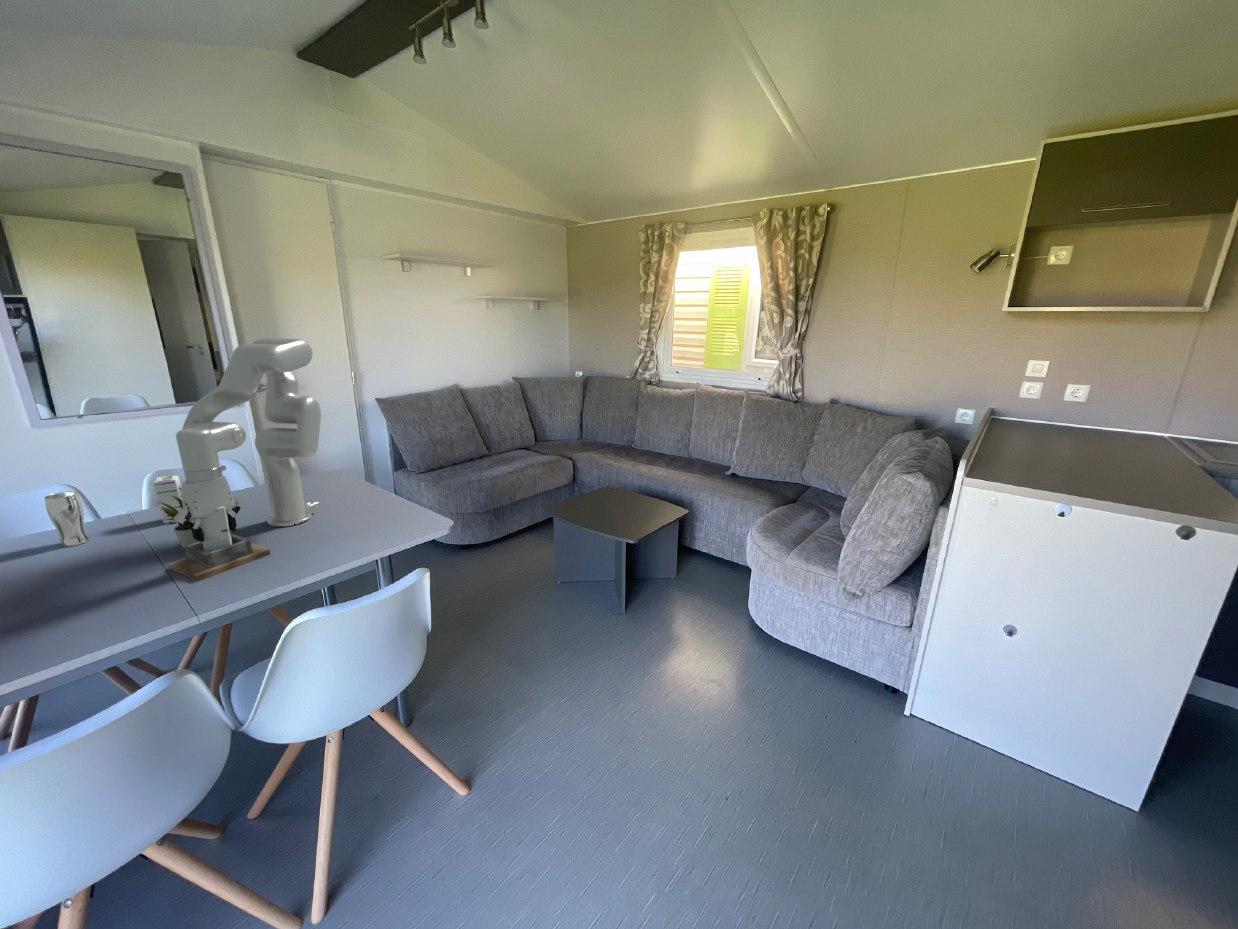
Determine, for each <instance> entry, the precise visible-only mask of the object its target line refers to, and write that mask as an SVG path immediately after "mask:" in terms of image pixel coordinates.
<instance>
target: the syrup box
mask: <svg viewBox="0 0 1238 929" xmlns="http://www.w3.org/2000/svg"><path fill="white" fill-rule="evenodd" d="M152 484H153V488H154V492H155V496H156V500H157V502H161V503H164V504H167V505H170V506H172V507H173V508H175V509H176V510H177V511H178V512H180V511H181V510H182V508H181V506H180V504H179V502H178V501H177V500H176V499H174V498H172V496H175V497H177V498H180V499H181V500H182V498H181V497H182V483H181V482H180V478H179V475H178V474H177V475H165V476H158V477H156V478H155V479H154V481H153V482H152ZM180 496H181V497H180ZM158 507H159V511H160V514H161V518H162V521H163V524H170V523H169V522H172V523H178V522H177V521H173V520H164V519H168V518H172V517H165V516H167V515H168V514H166V513H165V512H164V510H163V509H161V507H165V508H166V509H170V508H168V507H167V506H165V505H163V504H160V503H158ZM170 510H171V509H170ZM163 517H164V518H163Z"/></svg>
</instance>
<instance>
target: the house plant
mask: <svg viewBox="0 0 1238 929" xmlns="http://www.w3.org/2000/svg"><path fill="white" fill-rule="evenodd" d="M180 497H181V496H180ZM172 498H174V499H176V500H177V501H178V502H179V504H180V506H181V508H182V509H183V503H182V500H181V499H180V498H177V497H175V496H172ZM181 498H182V497H181ZM156 503H160V504H163V505H165V506H167V507H168V508H170V509H171V510H170V509H166V508H165V507H161V509H163V510H164V512H165V513H166V514H168V515H167V516H165V517H172V518H168V519H164V520H173V521H176V520H174V517H175V516H176V515H177V514H178V513H179V512H178V511H177V510H176V509H175V508H173V507H172V506H170V505H167V504H164V503H161V502H158V501H157V502H156ZM163 518H164V517H163ZM190 518H191V516H185V517H184V519H186V520H187V521H190ZM171 525H176V526H175V527H174V528H173V530H174V533H175V535H176V536H177V538H178V541H179V543H180V545H181V547H182V548H183V550H185V547H184V546H187V545H190V544H193V543H197V542H200V541H197V540H195V539H194V538H193V535H192V530H191V527H188V526H186V525H183V524H181V523H180V522H178V521H177V522H172V523H168V526H171Z"/></svg>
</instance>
